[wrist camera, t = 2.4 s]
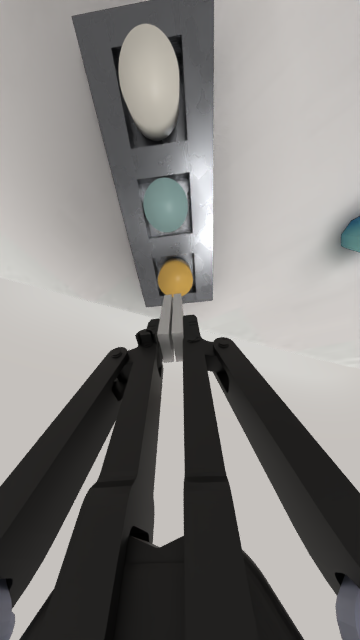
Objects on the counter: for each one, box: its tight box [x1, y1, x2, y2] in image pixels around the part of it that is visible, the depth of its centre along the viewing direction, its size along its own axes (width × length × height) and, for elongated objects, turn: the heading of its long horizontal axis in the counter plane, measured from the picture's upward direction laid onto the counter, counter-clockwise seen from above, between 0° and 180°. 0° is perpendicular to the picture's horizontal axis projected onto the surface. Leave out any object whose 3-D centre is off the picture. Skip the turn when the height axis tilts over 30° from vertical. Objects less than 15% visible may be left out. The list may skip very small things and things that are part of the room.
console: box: [72, 0, 214, 307], centre depth 22 cm, size 28×12×4 cm, turn 6°
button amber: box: [158, 258, 193, 297], centre depth 25 cm, size 5×5×4 cm
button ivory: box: [119, 24, 179, 141], centre depth 15 cm, size 5×5×4 cm
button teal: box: [143, 178, 188, 232], centre depth 20 cm, size 5×5×4 cm
